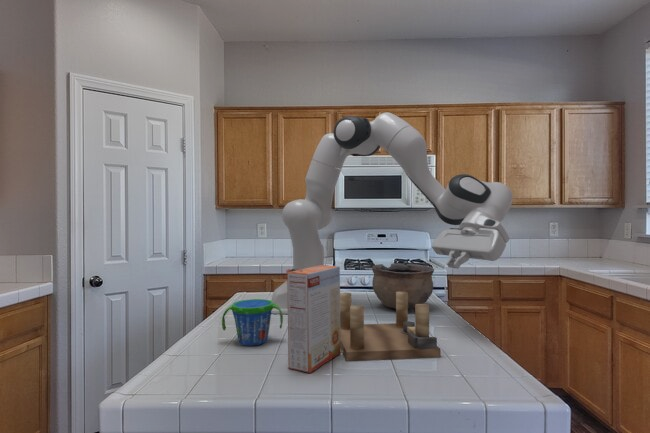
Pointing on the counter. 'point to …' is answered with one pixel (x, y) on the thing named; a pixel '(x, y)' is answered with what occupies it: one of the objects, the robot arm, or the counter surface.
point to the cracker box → (313, 317)
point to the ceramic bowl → (402, 283)
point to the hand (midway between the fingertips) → (451, 266)
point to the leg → (419, 321)
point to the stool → (381, 335)
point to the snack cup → (252, 320)
